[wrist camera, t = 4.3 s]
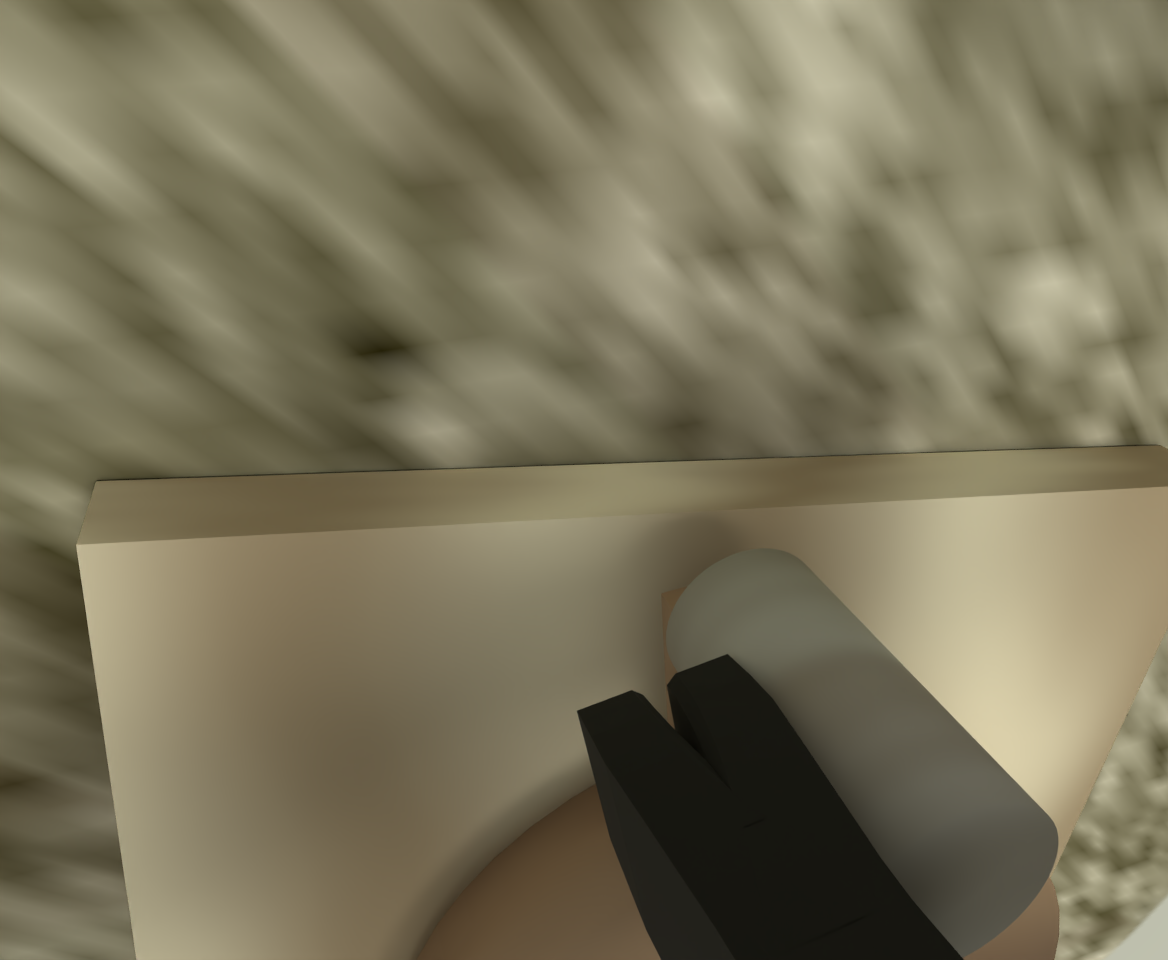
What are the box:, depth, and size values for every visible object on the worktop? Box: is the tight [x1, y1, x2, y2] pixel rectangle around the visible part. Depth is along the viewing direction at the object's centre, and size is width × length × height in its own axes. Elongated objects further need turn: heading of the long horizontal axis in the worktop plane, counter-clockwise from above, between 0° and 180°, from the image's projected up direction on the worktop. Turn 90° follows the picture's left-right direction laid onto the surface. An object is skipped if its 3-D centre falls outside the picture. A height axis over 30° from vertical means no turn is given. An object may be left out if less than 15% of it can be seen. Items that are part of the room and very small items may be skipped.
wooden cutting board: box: [76, 445, 1168, 960], centre depth 17 cm, size 17×18×2 cm
